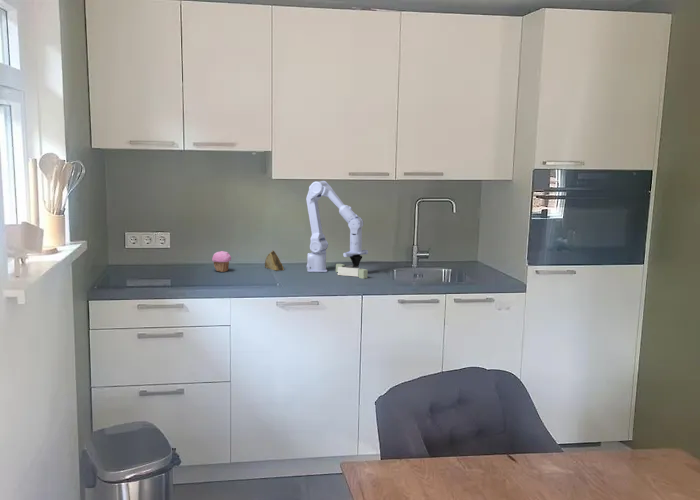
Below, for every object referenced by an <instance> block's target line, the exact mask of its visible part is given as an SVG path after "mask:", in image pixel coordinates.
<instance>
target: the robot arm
mask: <svg viewBox="0 0 700 500" xmlns="http://www.w3.org/2000/svg"><path fill="white" fill-rule="evenodd" d="M305 197H306V198H305V199H306V205H307V206H306V207H307V213H308V219H309V224H310V225H309V226H310V231H311V236H310V238H309V239H310V244H309V250H310V252H308V253H307V254H306V255H307V256H306V270H307V272H308V273H321V272H324V273H328V269H327V249H328V247H329V243H328V241H327V239H326V235H325V234H324V233H323V228H322V221H321V215H320V210H319V200H320V199H321V198H322V197H325V198H328V199H329V200H330V201H331V202H332V203H333V205H335V206H336V207H337V209H338V213H339V215H340V216H341V217H342V219H343V220H344V221H345V222H346V223H347V226H348V228H349V251H346V252H343V254H342V255H343V256H342V257H344V258H348V257H349V259H350V260H351V262H352V265H355V266H359V267H360V263H361V261H362V259H363V256H364V255H368V254H369V250H368V249H363V247H362V245H363V241H362V240H363V230H362V229H363V227H364V221H363V219H362V217H360V216H359V215H358V214H356V213H355V212H354V211H353V207H352V206H350V205H347V204H344V202H343V201H342V199H340V196H338V195H337V193H336V192H335V190H334V189H333V188H332V186H331V185H330V184H329V183H328V182H327V181H325V180H320V181H313V182H312V183H311V184H309V187H308V191H307V195H306V196H305Z"/></svg>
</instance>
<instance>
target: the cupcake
mask: <svg viewBox="0 0 700 500" xmlns="http://www.w3.org/2000/svg"><path fill="white" fill-rule="evenodd" d="M211 260H212V262H213V267H214V269H215V271H216V272H221V273H225V272H228V271H229V264H230V261H232V256H231V255H230V253H229V252H228V251H224V250H221V251H216V252H215V253H213V255H212V259H211Z"/></svg>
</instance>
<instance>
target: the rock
mask: <svg viewBox="0 0 700 500" xmlns="http://www.w3.org/2000/svg"><path fill="white" fill-rule="evenodd" d="M264 260H265V262H264V268H266V269H267V270H268V269H269V270H271V271H272V270H273V271H282V272H283V271H284V270H285V269H284V266H283V264H282V262H281V260H280V258H279V256H278V255H277V253H276V251H274V250H272V251H270V252H269V253H268V254H267V256H266V258H265V259H264Z"/></svg>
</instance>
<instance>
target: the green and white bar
mask: <svg viewBox="0 0 700 500" xmlns="http://www.w3.org/2000/svg"><path fill="white" fill-rule="evenodd" d="M344 266H347V265H346V264H343V263H336V264H335V273H337V272H338V267H344ZM358 277H359V279H368V269H365V268H361V269H359V275H358Z"/></svg>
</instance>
